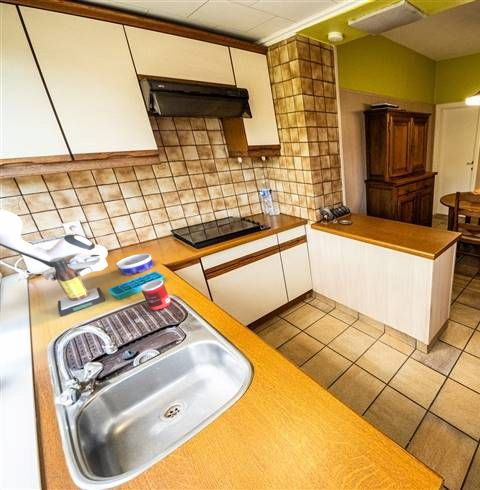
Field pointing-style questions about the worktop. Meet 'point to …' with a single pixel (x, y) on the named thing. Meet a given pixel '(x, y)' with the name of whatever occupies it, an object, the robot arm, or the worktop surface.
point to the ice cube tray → (134, 285)
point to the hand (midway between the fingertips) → (65, 277)
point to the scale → (80, 302)
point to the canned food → (156, 295)
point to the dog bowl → (135, 264)
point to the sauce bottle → (69, 280)
